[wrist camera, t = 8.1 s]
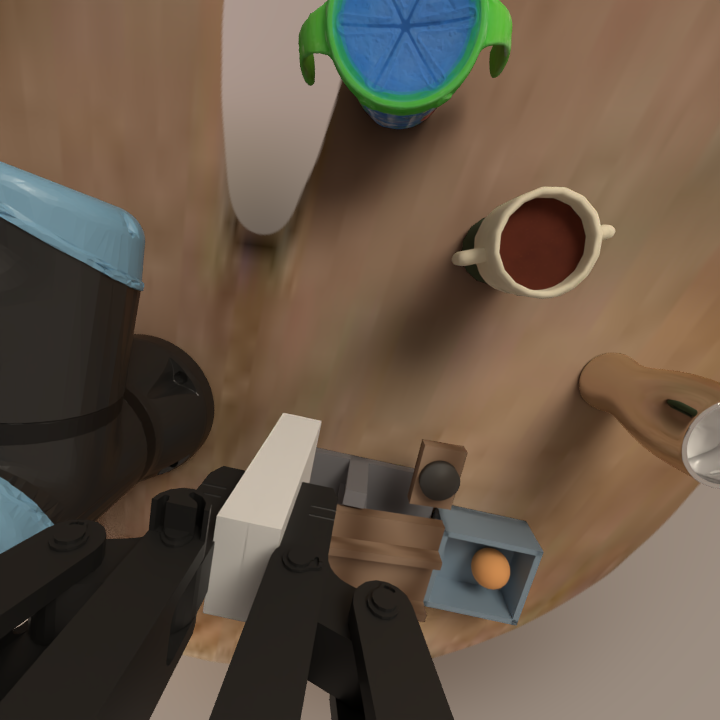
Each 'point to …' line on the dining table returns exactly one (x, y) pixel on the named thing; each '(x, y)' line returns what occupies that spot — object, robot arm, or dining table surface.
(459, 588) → the cup
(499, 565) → the ball
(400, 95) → the snack cup
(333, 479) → the lever base
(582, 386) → the beer glass
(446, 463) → the tilt lever
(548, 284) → the character mug
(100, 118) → the dining table surface
